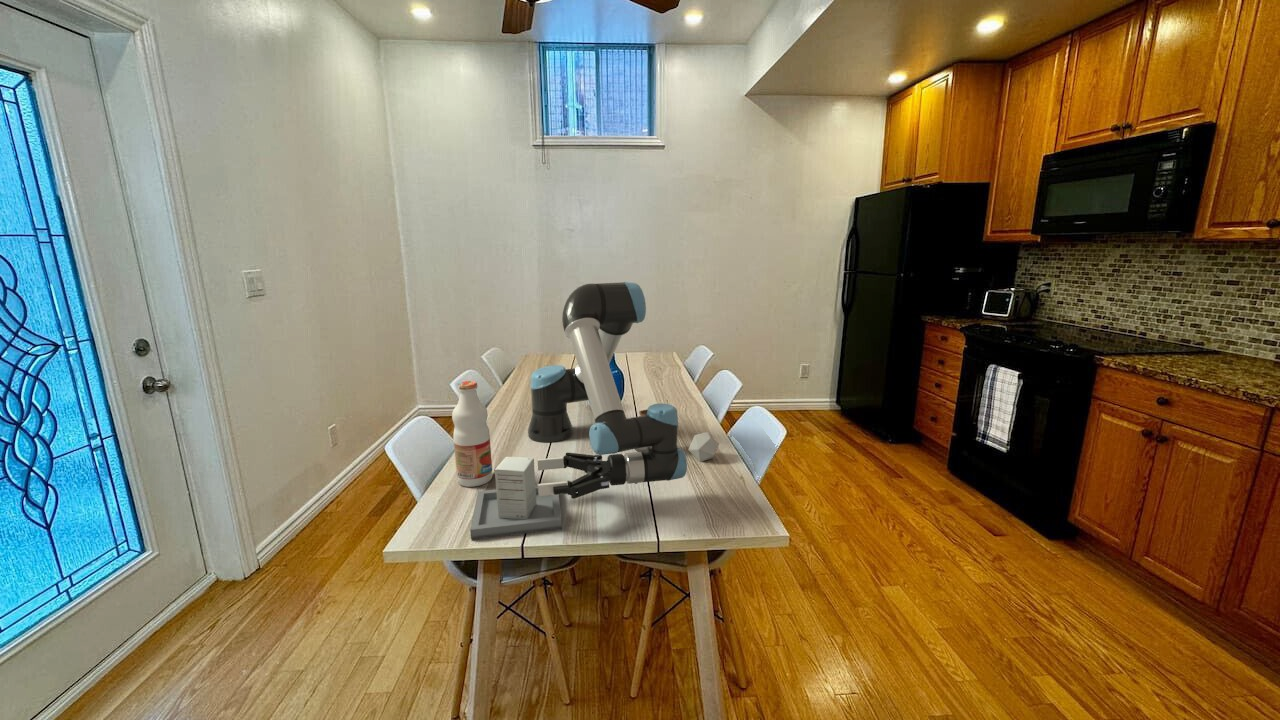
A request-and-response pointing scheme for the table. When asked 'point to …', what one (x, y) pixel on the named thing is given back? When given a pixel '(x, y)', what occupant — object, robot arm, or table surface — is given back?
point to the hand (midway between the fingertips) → (537, 476)
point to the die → (703, 446)
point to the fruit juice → (471, 438)
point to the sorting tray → (491, 525)
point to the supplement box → (515, 487)
